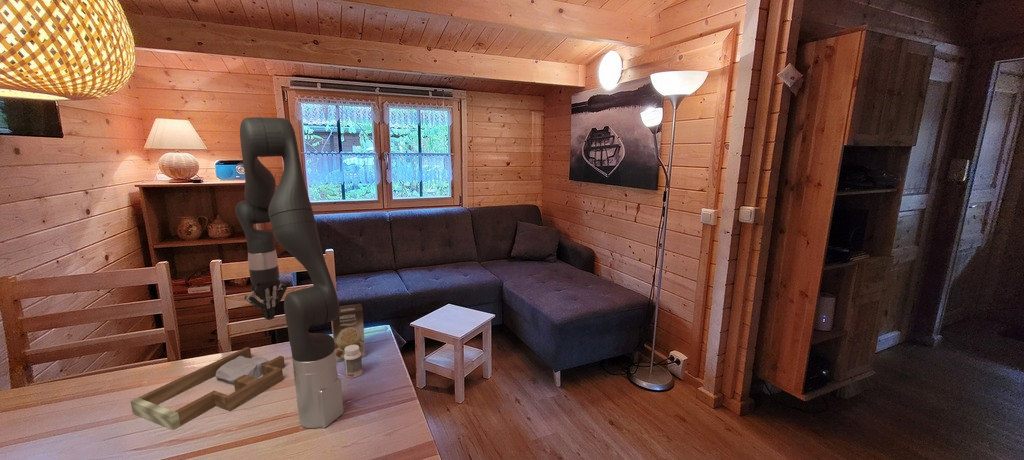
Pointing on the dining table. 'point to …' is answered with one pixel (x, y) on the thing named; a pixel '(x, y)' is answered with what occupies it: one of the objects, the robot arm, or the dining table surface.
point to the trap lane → (243, 392)
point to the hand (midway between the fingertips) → (270, 318)
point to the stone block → (241, 368)
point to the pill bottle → (353, 361)
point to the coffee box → (348, 330)
